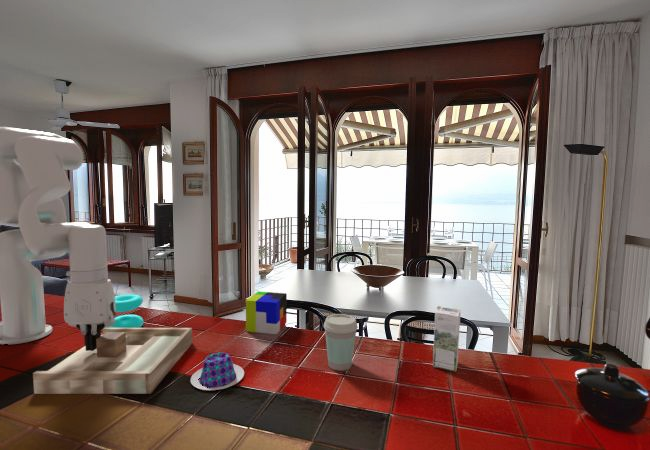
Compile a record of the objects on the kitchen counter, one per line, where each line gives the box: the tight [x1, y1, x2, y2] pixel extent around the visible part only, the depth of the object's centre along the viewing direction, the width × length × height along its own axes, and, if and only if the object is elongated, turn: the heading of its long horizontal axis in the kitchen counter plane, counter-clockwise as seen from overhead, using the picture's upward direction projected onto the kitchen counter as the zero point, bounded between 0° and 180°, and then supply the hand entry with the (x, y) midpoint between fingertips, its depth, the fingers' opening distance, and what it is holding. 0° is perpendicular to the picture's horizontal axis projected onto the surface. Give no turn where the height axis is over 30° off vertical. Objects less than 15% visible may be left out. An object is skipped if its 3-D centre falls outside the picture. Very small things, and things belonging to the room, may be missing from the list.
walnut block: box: [96, 332, 126, 357], centre depth 86 cm, size 4×4×4 cm
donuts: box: [106, 293, 144, 328], centre depth 109 cm, size 10×10×10 cm
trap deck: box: [32, 327, 193, 395], centre depth 86 cm, size 24×25×4 cm
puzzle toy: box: [245, 291, 288, 335], centre depth 112 cm, size 10×10×10 cm
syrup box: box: [432, 305, 461, 372], centre depth 88 cm, size 6×6×14 cm
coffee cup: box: [323, 313, 359, 371], centre depth 87 cm, size 8×8×12 cm
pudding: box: [190, 351, 245, 391], centre depth 81 cm, size 12×12×5 cm
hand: (93, 348), depth 86 cm, fingers closed
